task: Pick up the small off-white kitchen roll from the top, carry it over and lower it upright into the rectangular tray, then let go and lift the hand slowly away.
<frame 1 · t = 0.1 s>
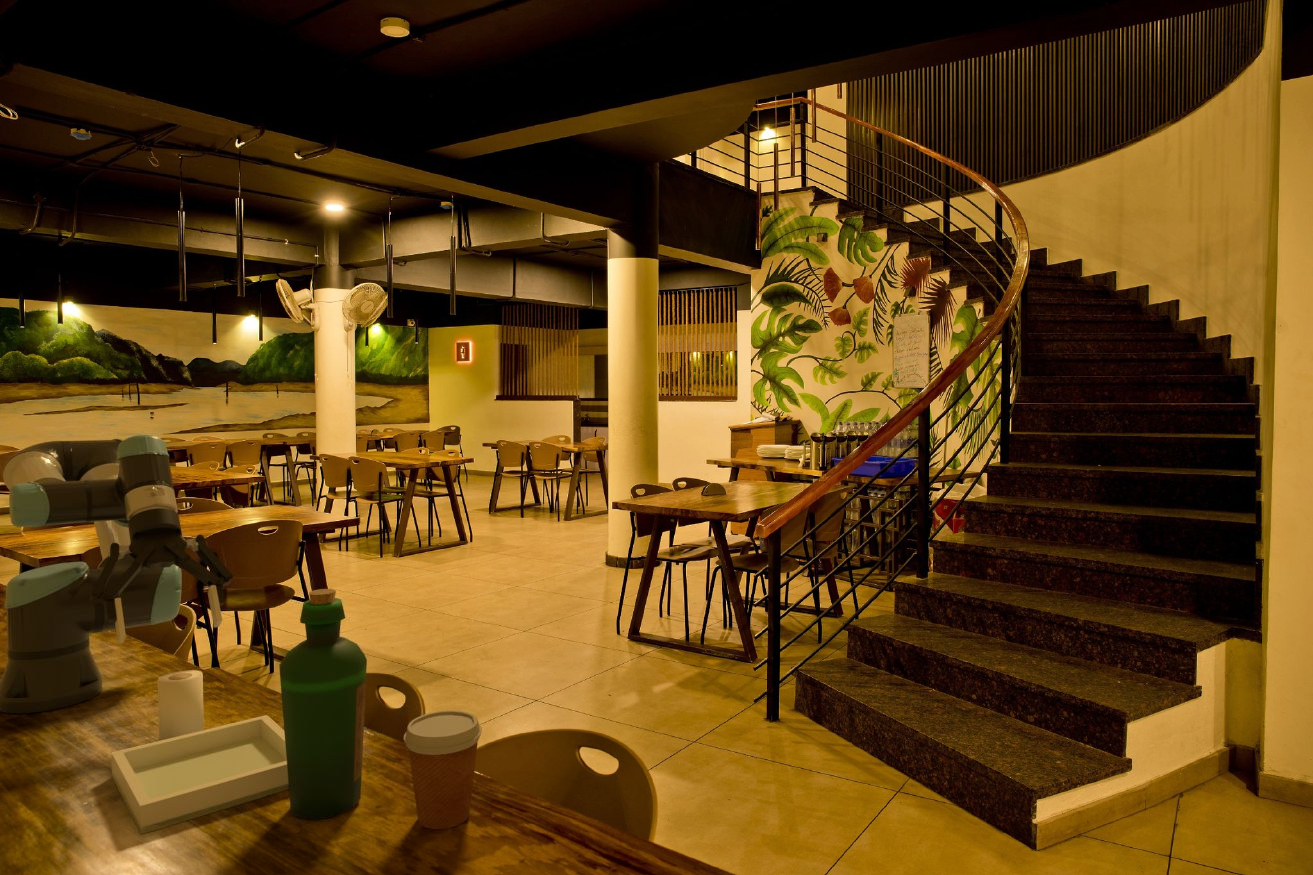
hand: (171, 631, 130), 15 cm above the table, tool tilted 35°, fingers open, 13 cm apart
rectangular tray: (212, 779, 112), on the table
bottle: (325, 806, 104), on the table
disposable coffee cup: (444, 818, 102), on the table
kitchen roll: (181, 739, 125), on the table
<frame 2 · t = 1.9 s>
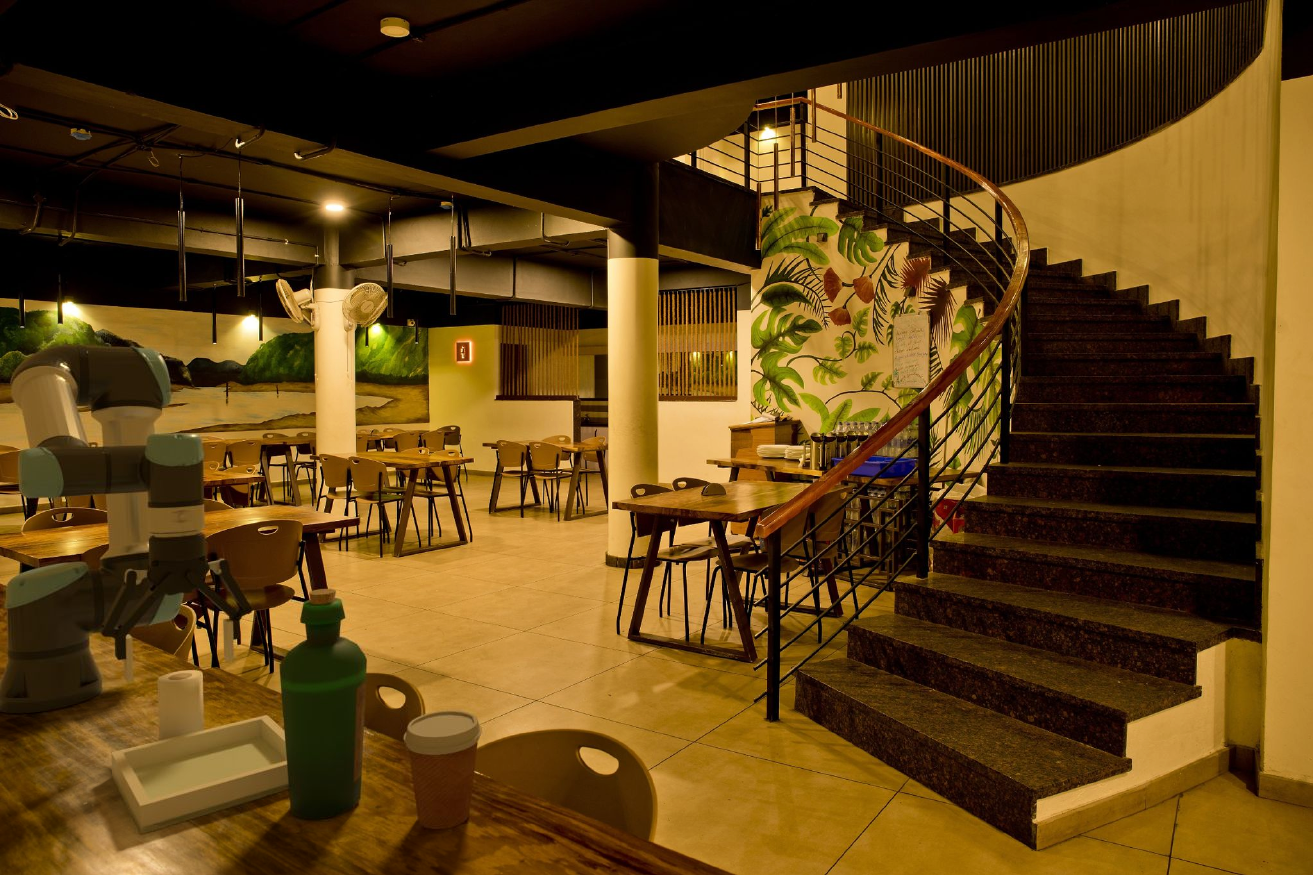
hand: (180, 670, 124), 11 cm above the table, tool pointing down, fingers open, 13 cm apart
nothing on the table moved.
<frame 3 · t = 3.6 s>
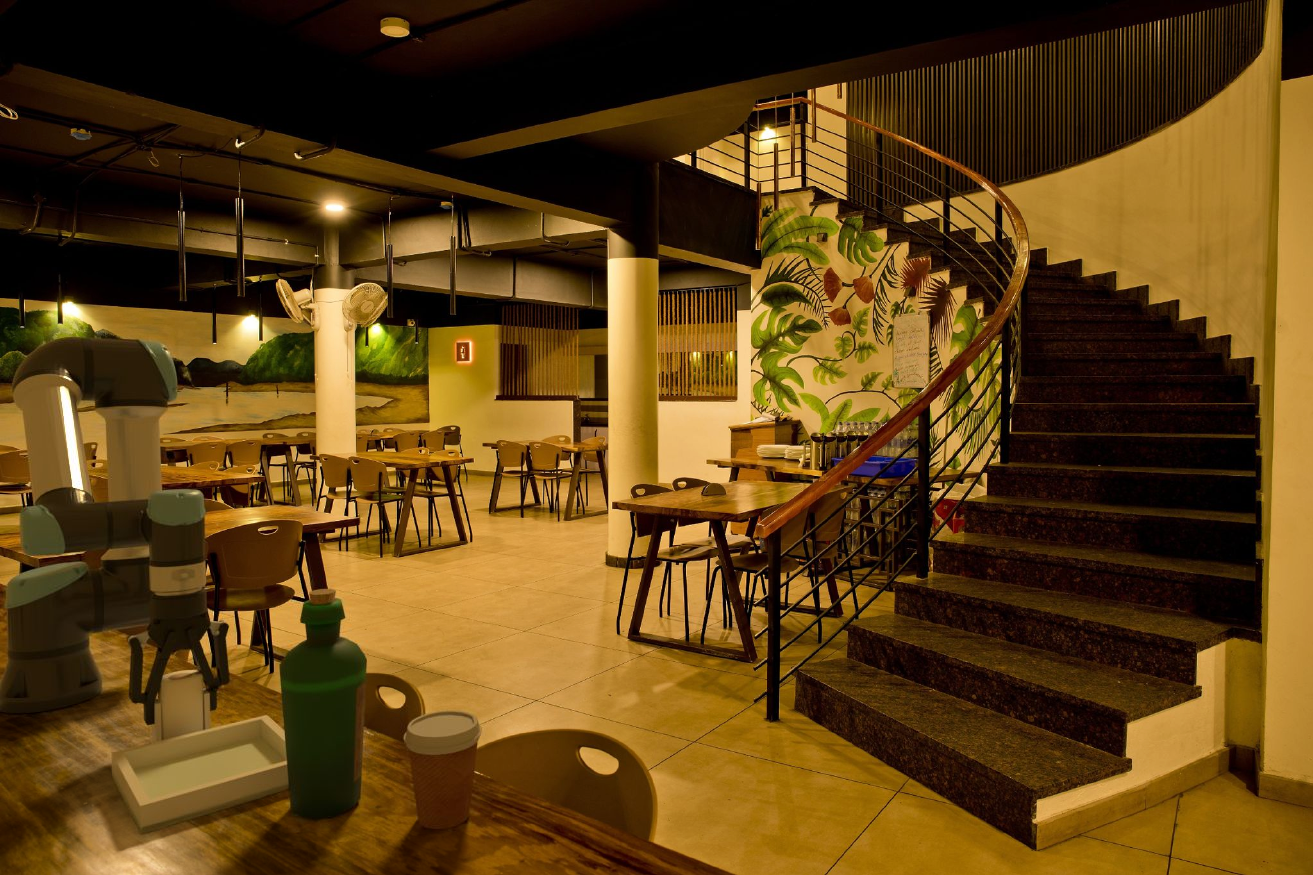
hand: (181, 737, 125), 0 cm above the table, tool pointing down, fingers closed on kitchen roll, 6 cm apart
kitchen roll: (181, 739, 125), on the table, touching gripper
everything else where it was.
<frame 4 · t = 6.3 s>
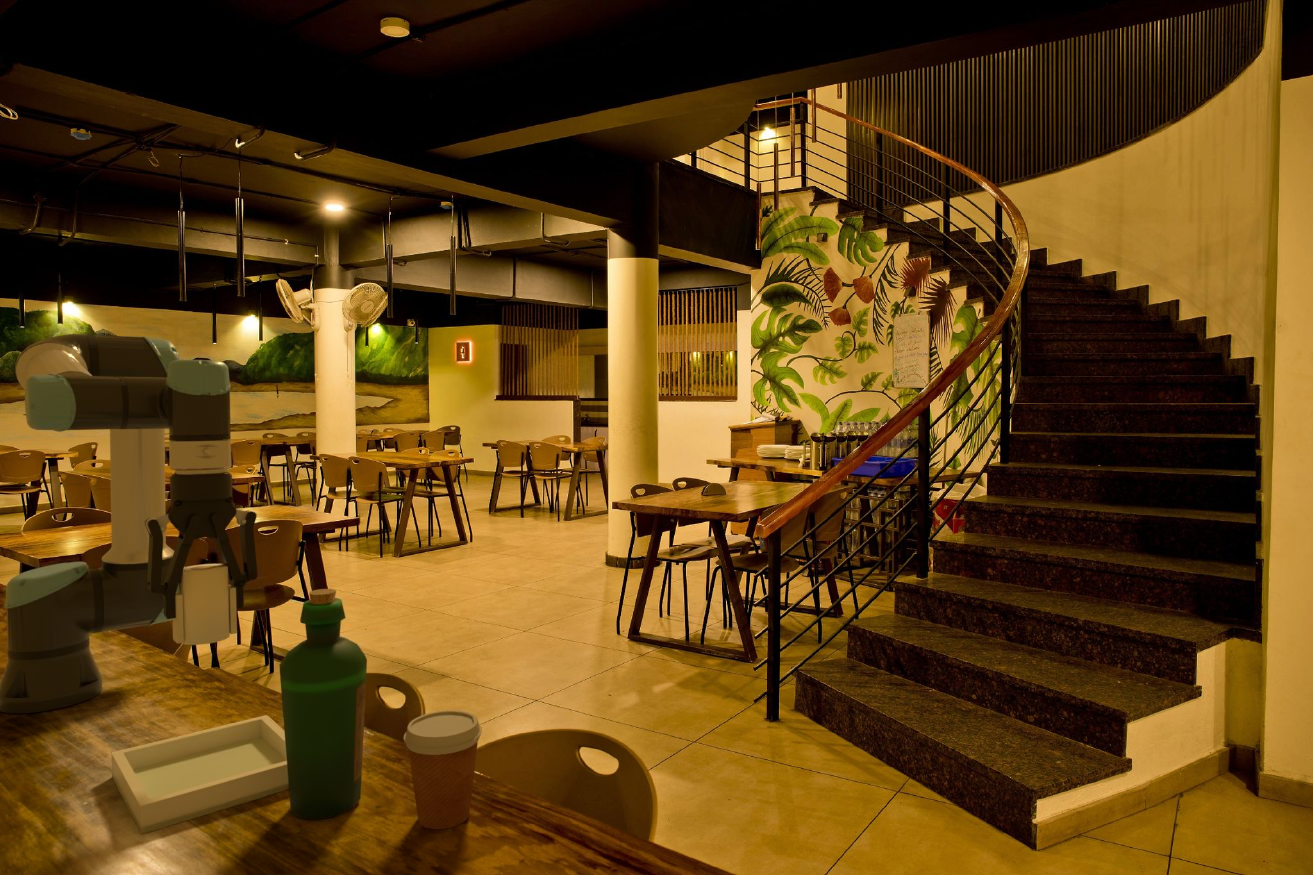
hand: (205, 636, 112), 20 cm above the table, tool pointing down, fingers closed on kitchen roll, 6 cm apart
kitchen roll: (205, 638, 113), point 19 cm above the table, touching gripper
everything else where it was.
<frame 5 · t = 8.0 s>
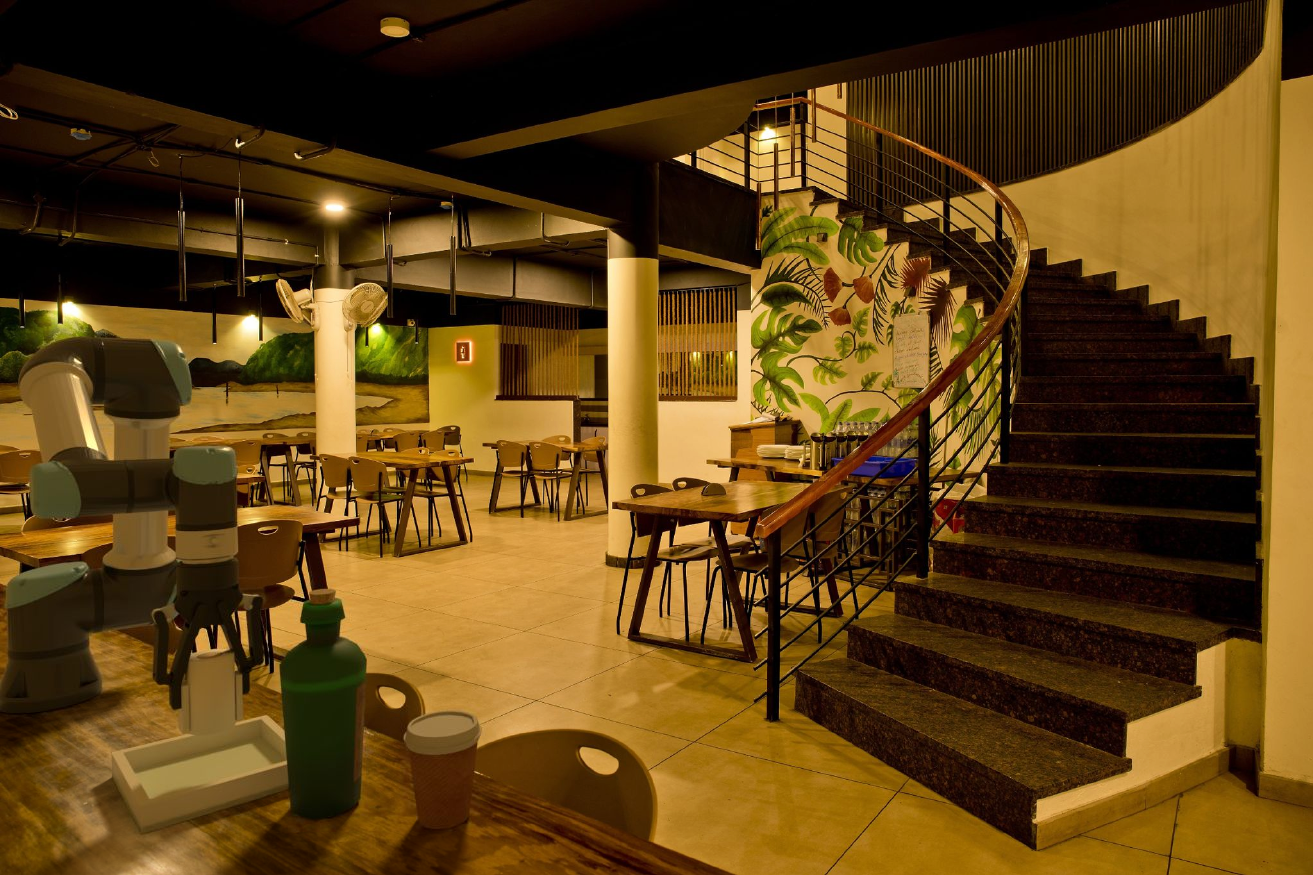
hand: (211, 723, 111), 8 cm above the table, tool pointing down, fingers closed on kitchen roll, 6 cm apart
kitchen roll: (211, 726, 111), point 7 cm above the table, touching gripper
everything else where it was.
when the fingers open (3 cm above the table, at t = 9.4 s): kitchen roll drops 2 cm, resting on rectangular tray.
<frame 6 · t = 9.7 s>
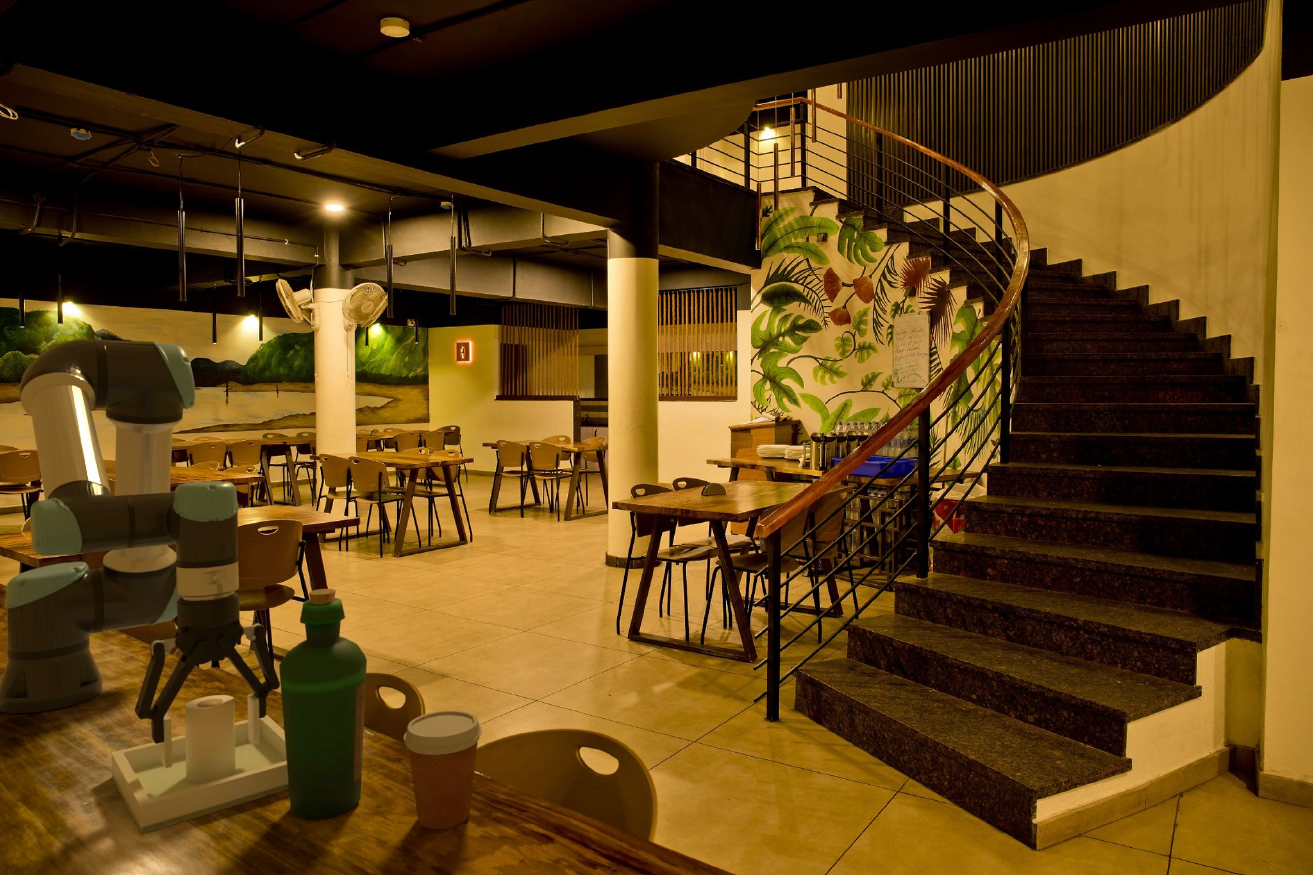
hand: (211, 752, 112), 4 cm above the table, tool pointing down, fingers open, 10 cm apart
kitchen roll: (211, 773, 112), point 1 cm above the table, touching rectangular tray
everything else where it was.
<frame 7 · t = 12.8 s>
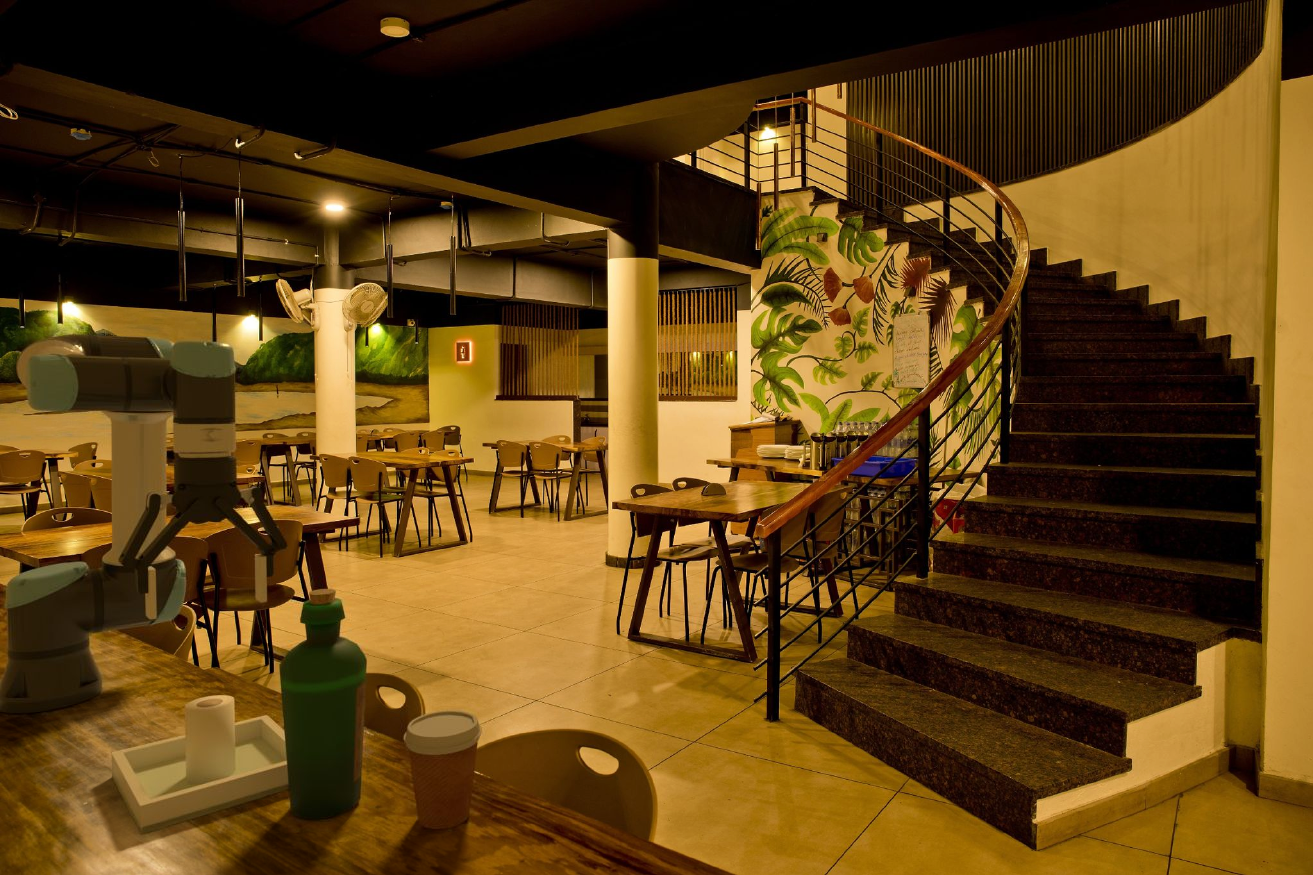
hand: (208, 608, 111), 24 cm above the table, tool pointing down, fingers open, 13 cm apart
nothing on the table moved.
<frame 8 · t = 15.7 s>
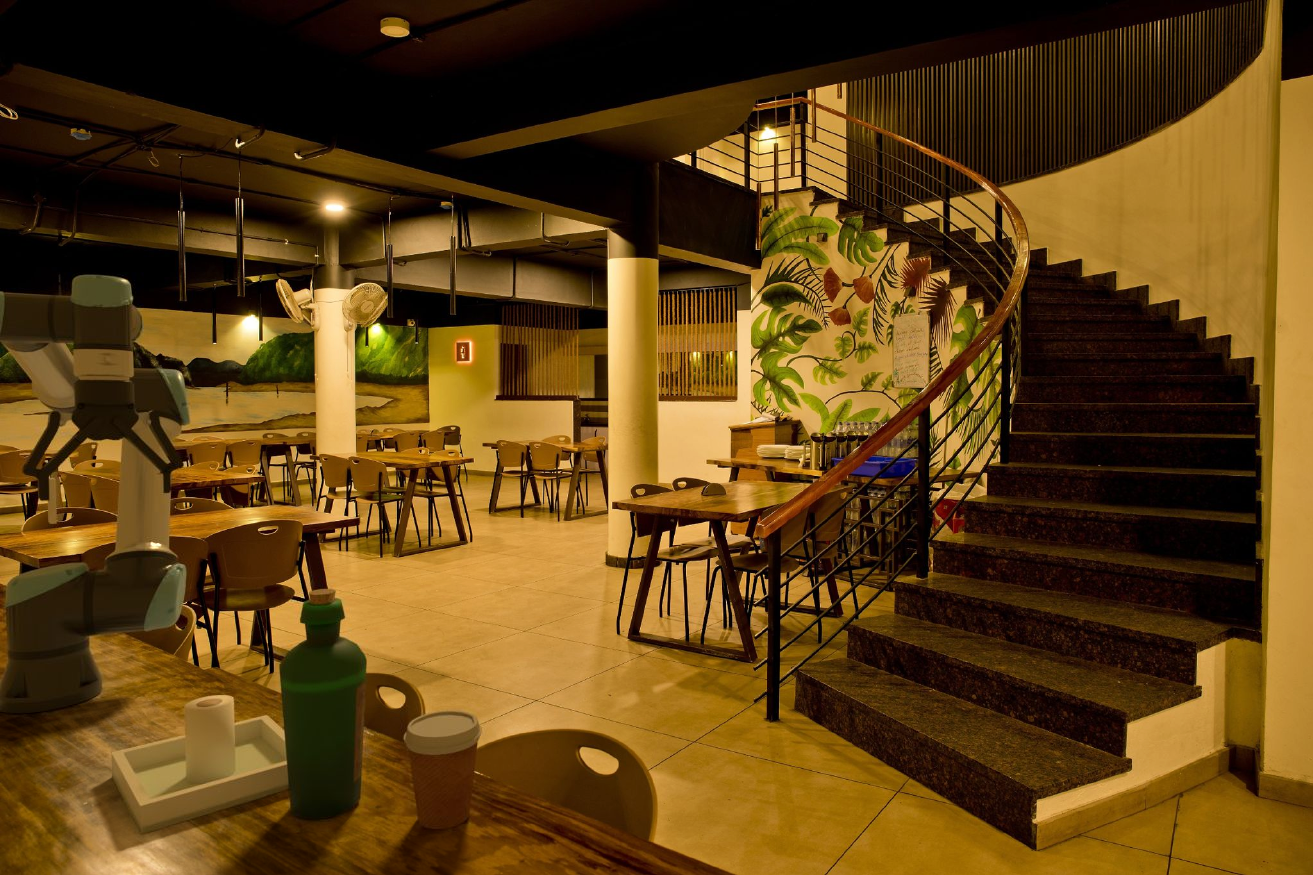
hand: (108, 518, 123), 35 cm above the table, tool pointing down, fingers open, 13 cm apart
nothing on the table moved.
at the end: kitchen roll inside the target area on the rectangular tray (0.1 cm from its centre), point 0.8 cm above the rectangular tray's base; kitchen roll tilted 0°; the gripper is holding nothing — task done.
